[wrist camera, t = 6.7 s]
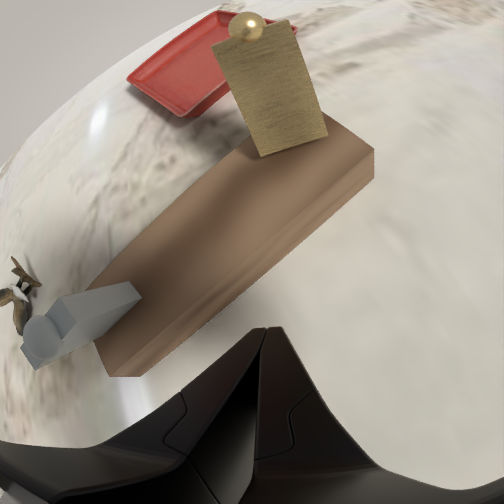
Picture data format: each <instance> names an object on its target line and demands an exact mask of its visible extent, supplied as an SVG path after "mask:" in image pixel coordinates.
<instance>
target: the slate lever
mask: <svg viewBox="0 0 504 504" xmlns="http://www.w3.org/2000/svg"><path fill="white" fill-rule="evenodd" d="M141 298H142V297H141V296H140V294H139V293H138V292H137V291H136V289H135V288H134V287H133V285H132V284H131V283H130V281H127V282H123V283H118V284H114V285H110V286H105V287H101V288H97V289H93V290H88V291H84V292H80V293H75V294H71V295H67V296H63V297H59V299H58V300H57V301H56V302H55V303H54V305H53V306H52V307H51V308H50V310H49V311H48V312H47V313H46V315H37V316H34V317H32V318H31V319H30V320H29V321H28V322H27V323H26V325H25V327H24V330H23V340H24V343H23V344H22V346H21V347H20V348H21V350H22V351H23V353H24V355H25V356H26V358H27V359H28V361H29V362H30V364H31V365H32V367H33V368H34V369H35V370H37V369H39V368H41V367H43V366H45V365H47V364H49V363H51V362H53V361H54V360H56V359H58V358H60V357H62V356H64V355H66V354H68V353H70V352H72V351H74V350H76V349H78V348H80V347H82V346H84V345H85V344H87V343H89V342H91V341H93V340H95V339H97V338H99V337H101V336H103V335H104V334H105V333H106V332H107V331H108V330H109V329H110V328H111V327H112V326H113V325H114V324H115V323H116V322H117V321H118V320H119V319H120V318H121V317H122V316H123V315H125V314H126V313H127V312H128V311H129V310H130V309H131V308H132V307H133V306H134V305H135V304H136V303H137V302H138V301H139V300H140V299H141Z"/></svg>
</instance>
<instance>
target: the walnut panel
mask: <svg viewBox="0 0 504 504" xmlns="http://www.w3.org/2000/svg"><path fill="white" fill-rule="evenodd" d="M321 112H322V111H321ZM322 116H323V119H324V122H325V126H326V129H327V132H328V136H326V137H323V138H319V139H316V140H312V141H309V142H306V143H302V144H299V145H296V146H293V147H290V148H286V149H283V150H280V151H277V152H274V153H271V154H268V155H265V156H262V157H261V156H260V154H259V152H258V149H257V147H256V145H255V142H254V140H253V138H252V136H250V137H248V138H247V139H246V140H245V141H243V142H242V143H241V144H240V145H238V146H237V147H236V148H235V149H234V150H232V151H231V152H230V153H229V154H228V155H226V156H225V157H224V158H223V159H222V160H220V161H219V162H218V163H217V164H216V165H215V166H213V167H212V168H211V169H210V170H209V171H208V172H206V173H205V174H204V175H203V176H202V177H201V178H199V179H198V180H197V181H196V182H195V183H194V184H193V185H192V186H190V187H189V188H188V189H187V190H186V191H185V192H184V193H183V194H182V195H180V196H179V197H178V198H177V199H176V200H175V201H174V202H173V203H172V204H171V205H170V206H168V207H167V208H166V209H165V210H164V211H163V212H162V213H161V214H160V215H159V216H158V217H157V218H156V219H155V220H154V221H152V222H151V223H150V224H149V225H148V226H147V227H146V228H145V229H144V230H143V231H142V232H141V233H140V234H139V235H138V236H137V237H136V238H135V239H134V240H133V241H132V242H131V243H130V244H129V245H128V246H127V247H126V248H125V249H124V250H123V251H122V252H121V253H120V254H119V255H118V256H117V257H116V258H115V259H114V260H113V261H112V262H111V263H110V264H109V265H108V266H107V267H106V269H105V270H104V271H103V272H102V273H101V274H100V275H99V276H98V277H97V278H96V279H95V280H94V281H93V282H92V283H91V284H90V286H89V287H88V288H87V289H86V290H85V291H88V290H93V289H97V288H101V287H105V286H110V285H114V284H118V283H123V282H127V281H130V283H131V284H132V285H133V287H134V288H135V289H136V291H137V292H138V293H139V294H140V296H141V297H142V298H141V299H140V300H139V301H138V302H137V303H136V304H135V305H134V306H133V307H132V308H131V309H130V310H129V311H128V312H127V313H126V314H125V315H123V316H122V317H121V318H120V319H119V320H118V321H117V322H116V323H115V324H114V325H113V326H112V327H111V328H110V329H109V330H108V331H107V332H106V333H105V334H104V335H103V336H101V337H99V338H97V339H95V340H93V341H94V343H95V346H96V348H97V350H98V353H99V355H100V357H101V360H102V362H103V364H104V366H105V369H106V371H107V373H108V375H109V377H140V376H142V375H143V374H144V373H145V372H147V371H148V370H149V369H150V368H152V367H153V366H154V365H155V364H157V363H158V362H159V361H160V360H161V359H163V358H164V357H165V356H166V355H168V354H169V353H170V352H171V351H173V350H174V349H175V348H176V347H178V346H179V345H180V344H181V343H182V342H184V341H185V340H186V339H187V338H189V337H190V336H191V335H192V334H193V333H195V332H196V331H197V330H198V329H199V328H201V327H202V326H203V325H204V324H205V323H207V322H208V321H209V320H210V319H212V318H213V317H214V316H215V315H216V314H218V313H219V312H220V311H221V310H222V309H224V308H225V307H226V306H227V305H228V304H230V303H231V302H232V301H233V300H234V299H235V298H237V297H238V296H239V295H240V294H241V293H243V292H244V291H245V290H246V289H247V288H249V287H250V286H251V285H252V284H253V283H254V282H256V281H257V280H258V279H259V278H260V277H261V276H263V275H264V274H265V273H266V272H267V271H269V270H270V269H271V268H272V267H273V266H274V265H276V264H277V263H278V262H279V261H280V260H281V259H283V258H284V257H285V256H286V255H287V254H288V253H289V252H291V251H292V250H293V249H294V248H295V247H296V246H298V245H299V244H300V243H301V242H302V241H303V240H304V239H306V238H307V237H308V236H309V235H310V234H311V233H313V232H314V231H315V230H316V229H317V228H318V227H319V226H321V225H322V224H323V223H324V222H325V221H326V220H327V219H328V218H330V217H331V216H332V215H333V214H334V213H335V212H336V211H338V210H339V209H340V208H341V207H342V206H343V205H344V204H345V203H347V202H348V201H349V200H350V199H351V198H352V197H353V196H354V195H356V194H357V193H358V192H359V191H360V190H361V189H362V188H363V187H364V186H366V185H367V184H368V183H369V182H370V181H371V180H372V179H373V178H374V148H372V147H371V146H370V145H368V144H367V143H366V142H364V141H363V140H362V139H360V138H359V137H358V136H356V135H355V134H354V133H352V132H351V131H349V130H348V129H347V128H345V127H344V126H342V125H341V124H339V123H338V122H337V121H335V120H334V119H332V118H331V117H329V116H328V115H326V114H325V113H323V112H322Z"/></svg>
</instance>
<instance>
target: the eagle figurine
mask: <svg viewBox="0 0 504 504" xmlns="http://www.w3.org/2000/svg"><path fill="white" fill-rule="evenodd" d="M11 259H12V260H13V262H14V264H15V265H16V267H17V268H14V269H13V270H12V272H13V273H15V274H16V275H18V276H20V279H19V282H18V283H17V285H16V286H15V285H11V287H12V289H13V290H10V289H8V288H6V289H1V290H0V307H1V306H4V305H6V304H7V303H9V302H10V301H13V302H14V313H13V321H14V324H15V325H16V330H17V333H19V335H21V336H23V330H24V326H25V321H27V317H28V316H27V314H28V312H27V309H26V308H25V305H24V304H23V303H24V300H25V301H27V302H29V301H28V299H27V297H26V296H27V295H28V294H29V292H30V291H31V289H32V287H40V286H42V285H41V284H40V283H38V282H36V281H34V280H33V279H32V278H31V277H30V276H29V275H28V274H27V273H26V272H25V271H24V270H23V268H22V267H21V266H20V265H19V263H18V262H17V261H16V259H14V258H13V257H12V256H11ZM23 282H28V283H29V284H30V285H29V286H28V287H27V288H26V289H25V290H24V291H22V290H21V286H22V283H23Z"/></svg>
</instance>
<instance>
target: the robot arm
mask: <svg viewBox="0 0 504 504" xmlns="http://www.w3.org/2000/svg"><path fill="white" fill-rule="evenodd" d="M0 487H1V488H2V489H3V490H4V491H5V492H4V493H3V495H2V496H1V498H0V504H504V477H503V478H500V479H498V480H496V481H493V482H491V483H489V484H486V485H483V486H480V487H477V488H473V489H466V490H450V489H444V488H440V487H437V486H433V485H430V484H426V483H423V482H420V481H417V480H414V479H411V478H408V477H405V476H402V475H399V474H396V473H393V472H390V471H388V470H386V469H384V468H382V467H380V466H379V465H378V464H377V463H375V462H374V461H373V460H372V459H371V458H370V457H369V456H368V455H367V454H366V453H365V451H364V450H363V449H362V448H361V447H360V446H359V445H358V443H357V442H356V441H355V440H354V439H353V438H352V437H351V435H350V434H349V433H348V432H347V431H346V430H345V429H344V427H343V426H342V425H341V424H340V423H339V421H338V420H337V419H336V417H335V416H334V415H333V414H332V412H331V411H330V410H329V408H328V406H327V405H326V403H325V402H324V400H323V399H322V397H321V395H320V393H319V391H318V390H317V388H316V386H315V385H314V383H313V381H312V379H311V378H310V376H309V374H308V372H307V370H306V369H305V367H304V365H303V363H302V362H301V360H300V358H299V356H298V354H297V353H296V351H295V349H294V347H293V345H292V344H291V342H290V340H289V338H288V336H287V335H286V333H285V331H284V329H283V328H282V327H281V326H278V327H269V328H268V329H267V328H254V329H252V330H251V331H250V332H249V333H247V334H246V335H245V336H244V337H243V338H242V339H241V340H240V341H238V342H237V343H236V344H235V345H234V346H233V347H232V348H230V349H229V350H228V351H227V352H226V353H225V354H223V355H222V356H221V357H220V358H219V359H218V360H216V361H215V362H214V363H213V364H212V365H211V366H209V367H208V368H207V369H206V370H205V371H203V372H202V373H201V374H200V375H199V376H197V377H196V378H195V379H194V380H193V381H191V382H190V383H189V384H188V385H187V386H185V387H184V388H183V389H182V390H181V392H178V393H177V394H175V395H174V396H173V397H172V398H171V399H169V400H168V401H167V402H165V403H164V404H163V405H161V406H160V407H159V408H157V409H156V410H155V411H153V412H152V413H150V414H149V415H147V416H146V417H144V418H143V419H141V420H140V421H138V422H136V423H135V424H133V425H132V426H130V427H128V428H127V429H125V430H123V431H122V432H120V433H118V434H117V435H115V436H113V437H112V438H110V439H108V440H107V441H105V442H103V443H101V444H99V445H96V446H93V447H88V448H56V447H42V446H32V445H23V444H15V443H9V442H5V441H0Z"/></svg>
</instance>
